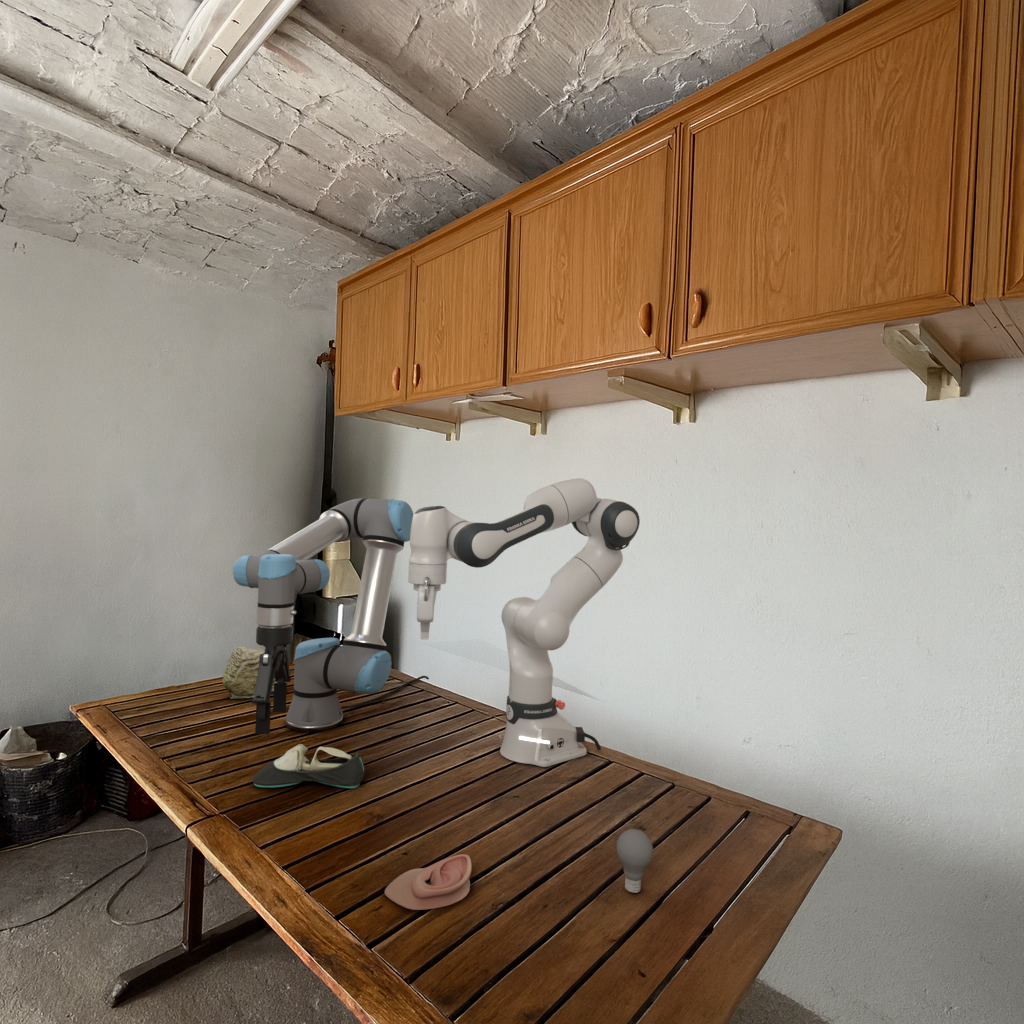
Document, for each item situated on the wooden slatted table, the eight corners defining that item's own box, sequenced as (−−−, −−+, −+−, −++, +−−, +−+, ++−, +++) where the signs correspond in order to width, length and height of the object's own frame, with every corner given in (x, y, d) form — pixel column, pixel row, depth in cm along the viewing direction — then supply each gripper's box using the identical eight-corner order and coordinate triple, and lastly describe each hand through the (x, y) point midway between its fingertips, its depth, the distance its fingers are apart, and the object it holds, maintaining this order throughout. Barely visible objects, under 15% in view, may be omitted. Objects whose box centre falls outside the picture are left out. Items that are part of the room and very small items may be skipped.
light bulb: (610, 879, 108) (613, 822, 108) (644, 879, 109) (647, 822, 109) (619, 902, 102) (622, 840, 102) (655, 901, 103) (658, 840, 103)
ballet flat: (258, 775, 143) (259, 738, 143) (367, 774, 145) (368, 739, 145) (247, 791, 135) (248, 753, 134) (362, 791, 137) (364, 753, 137)
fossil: (218, 695, 195) (220, 647, 195) (278, 685, 208) (279, 640, 207) (228, 703, 189) (230, 653, 188) (289, 692, 201) (290, 645, 201)
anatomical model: (377, 878, 99) (404, 840, 110) (376, 903, 99) (403, 863, 111) (458, 893, 97) (478, 852, 108) (457, 918, 97) (476, 875, 108)
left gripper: (277, 638, 126) (273, 743, 127) (305, 615, 151) (301, 703, 151) (238, 637, 125) (234, 743, 126) (272, 614, 150) (269, 703, 151)
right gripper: (441, 581, 138) (438, 644, 138) (441, 570, 158) (438, 625, 158) (411, 580, 137) (409, 644, 137) (415, 569, 157) (413, 625, 158)
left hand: (271, 722), depth 139 cm, fingers open, 13 cm apart
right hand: (425, 634), depth 148 cm, fingers open, 8 cm apart
